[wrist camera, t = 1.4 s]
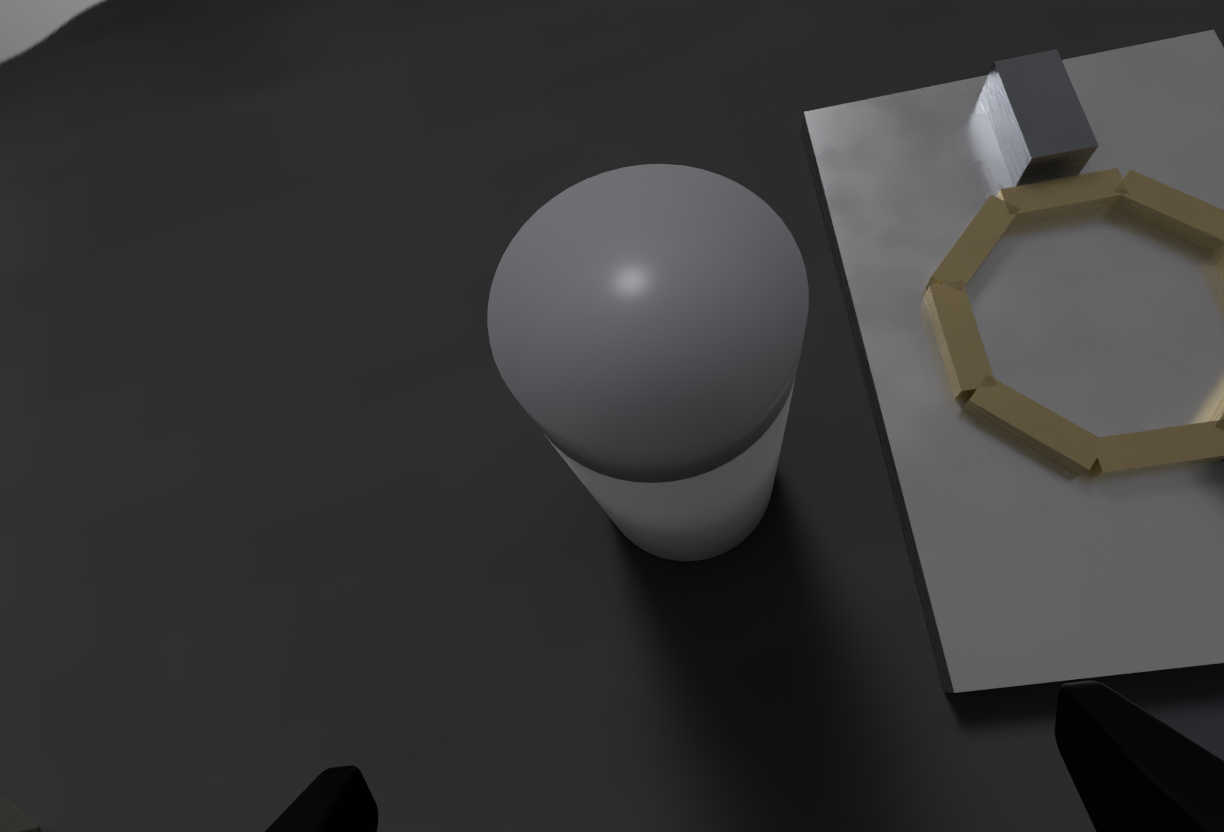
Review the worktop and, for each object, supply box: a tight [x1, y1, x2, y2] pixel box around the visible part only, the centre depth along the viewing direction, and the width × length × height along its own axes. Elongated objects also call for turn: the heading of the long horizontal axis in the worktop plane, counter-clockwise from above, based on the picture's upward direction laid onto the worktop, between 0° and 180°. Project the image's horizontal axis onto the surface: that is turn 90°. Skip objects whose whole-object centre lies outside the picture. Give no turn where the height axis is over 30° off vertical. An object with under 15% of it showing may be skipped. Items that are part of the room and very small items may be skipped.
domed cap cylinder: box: [488, 164, 809, 561], centre depth 18 cm, size 6×6×12 cm
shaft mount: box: [802, 30, 1224, 693], centre depth 22 cm, size 20×14×2 cm
